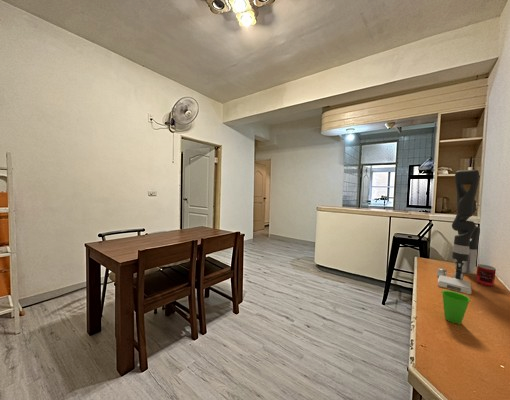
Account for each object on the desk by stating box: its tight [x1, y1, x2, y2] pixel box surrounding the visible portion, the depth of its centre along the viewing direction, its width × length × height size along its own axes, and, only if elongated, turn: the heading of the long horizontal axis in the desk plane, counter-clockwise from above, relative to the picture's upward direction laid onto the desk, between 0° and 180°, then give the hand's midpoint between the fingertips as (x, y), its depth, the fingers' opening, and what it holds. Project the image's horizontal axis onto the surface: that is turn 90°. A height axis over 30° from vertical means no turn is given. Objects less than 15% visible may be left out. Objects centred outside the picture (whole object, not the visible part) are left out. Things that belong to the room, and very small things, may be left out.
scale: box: [437, 275, 472, 295], centre depth 127 cm, size 15×14×3 cm
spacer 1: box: [436, 267, 447, 278], centre depth 142 cm, size 4×4×5 cm
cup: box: [441, 289, 471, 325], centre depth 91 cm, size 9×9×11 cm
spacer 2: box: [453, 271, 465, 280], centre depth 136 cm, size 4×4×5 cm
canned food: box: [475, 263, 497, 288], centre depth 133 cm, size 8×8×11 cm
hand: (457, 277), depth 136 cm, fingers open, 8 cm apart
